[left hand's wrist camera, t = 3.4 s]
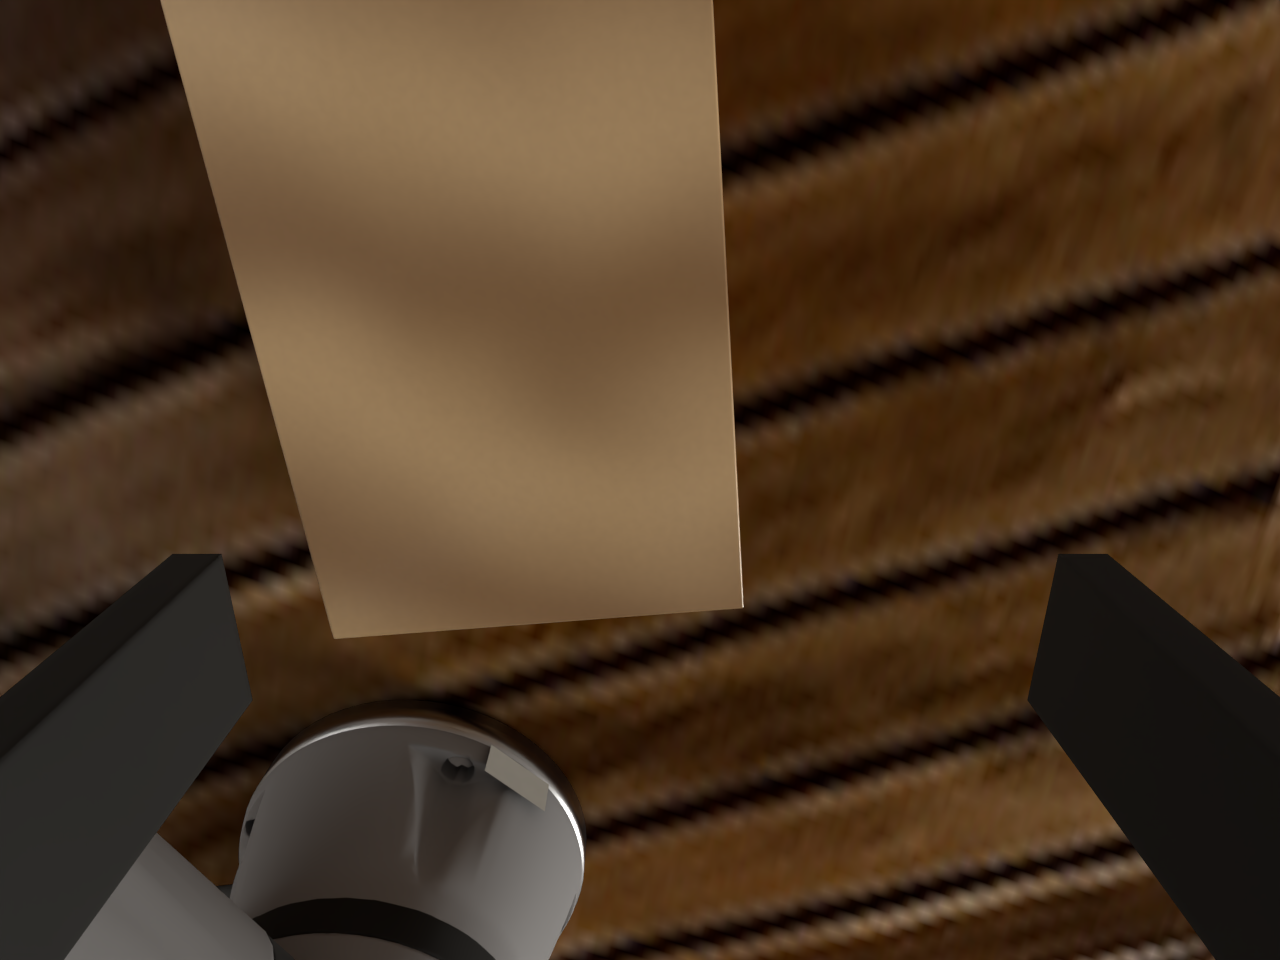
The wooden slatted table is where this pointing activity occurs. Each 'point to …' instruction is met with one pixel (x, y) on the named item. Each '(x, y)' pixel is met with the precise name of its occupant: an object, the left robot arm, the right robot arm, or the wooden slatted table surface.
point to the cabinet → (482, 297)
